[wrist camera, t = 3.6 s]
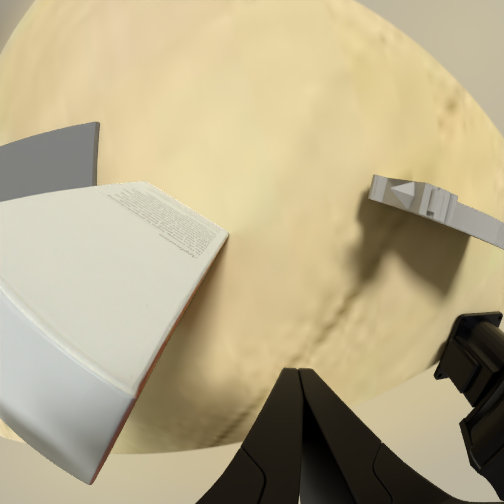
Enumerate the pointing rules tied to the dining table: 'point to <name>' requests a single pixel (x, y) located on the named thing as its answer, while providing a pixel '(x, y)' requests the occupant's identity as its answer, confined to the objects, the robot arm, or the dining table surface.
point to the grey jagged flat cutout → (437, 207)
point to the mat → (49, 162)
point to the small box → (91, 310)
